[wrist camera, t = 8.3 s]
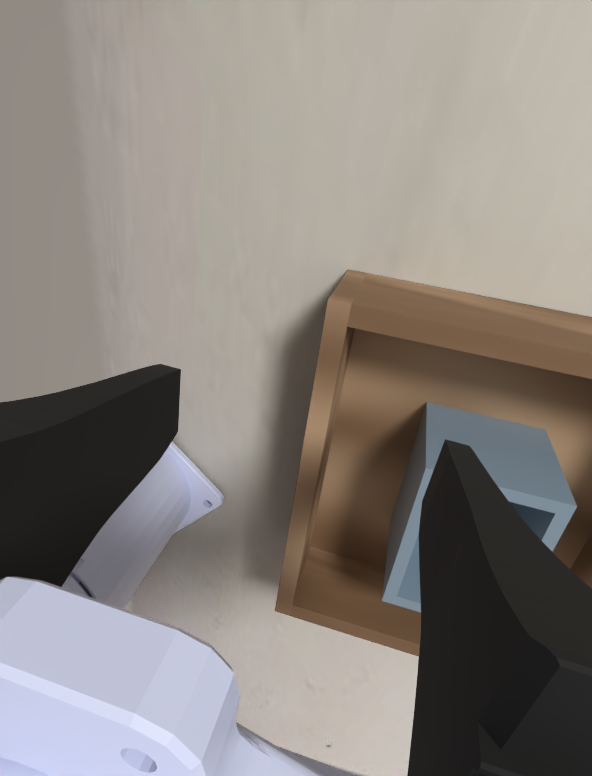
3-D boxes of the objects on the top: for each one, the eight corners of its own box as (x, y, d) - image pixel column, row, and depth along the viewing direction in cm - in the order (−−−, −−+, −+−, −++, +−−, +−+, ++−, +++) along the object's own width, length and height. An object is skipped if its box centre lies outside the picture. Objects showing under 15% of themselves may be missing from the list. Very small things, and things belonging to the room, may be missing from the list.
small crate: (491, 547, 24) (505, 638, 19) (390, 519, 24) (381, 600, 20) (545, 429, 20) (577, 506, 16) (426, 401, 21) (425, 467, 17)
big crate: (551, 619, 25) (573, 705, 21) (296, 545, 27) (274, 611, 24) (717, 341, 18) (798, 396, 14) (348, 269, 20) (327, 299, 16)
